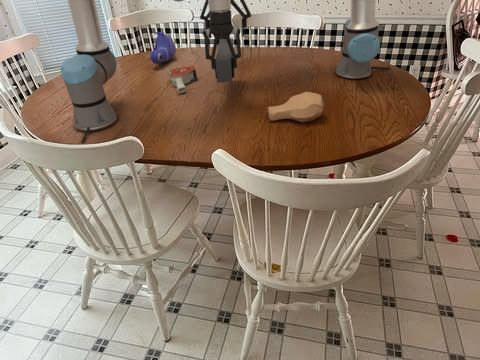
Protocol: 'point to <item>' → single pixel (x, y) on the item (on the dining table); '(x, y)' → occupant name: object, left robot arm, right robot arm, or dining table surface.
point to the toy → (162, 49)
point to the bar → (224, 62)
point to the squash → (298, 108)
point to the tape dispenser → (181, 77)
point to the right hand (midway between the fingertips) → (226, 36)
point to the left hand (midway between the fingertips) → (225, 76)
